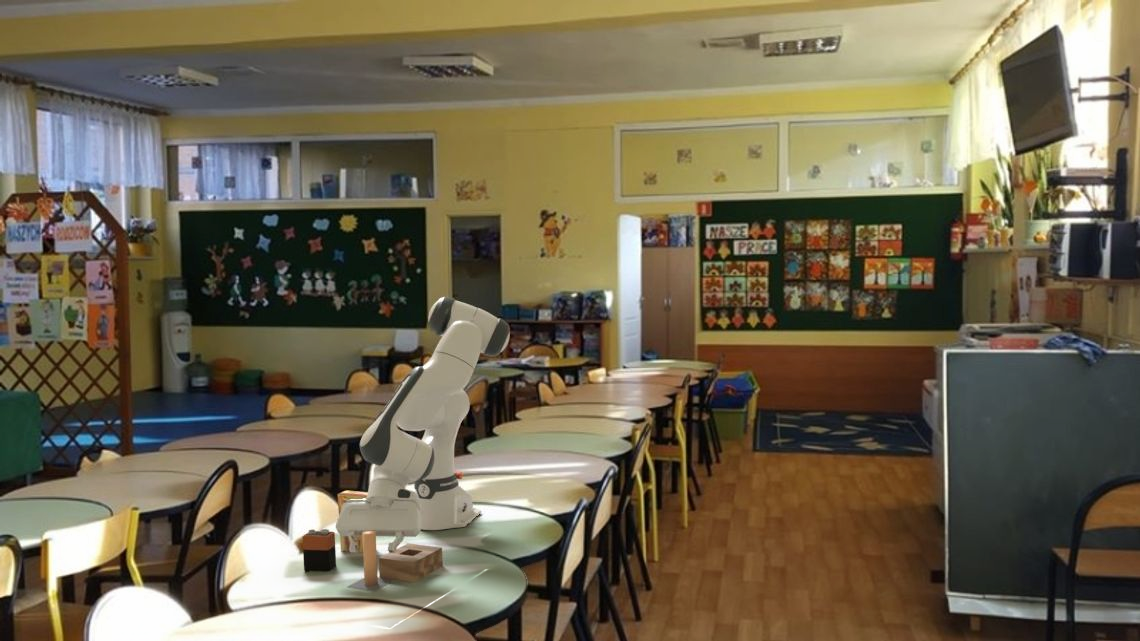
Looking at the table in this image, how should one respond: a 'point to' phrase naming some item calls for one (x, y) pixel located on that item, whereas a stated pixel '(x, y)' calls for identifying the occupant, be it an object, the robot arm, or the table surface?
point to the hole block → (410, 562)
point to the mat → (380, 584)
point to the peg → (370, 558)
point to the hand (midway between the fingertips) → (372, 551)
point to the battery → (319, 550)
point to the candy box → (342, 499)
